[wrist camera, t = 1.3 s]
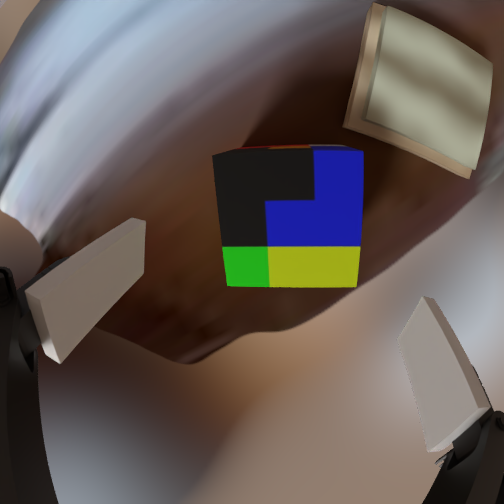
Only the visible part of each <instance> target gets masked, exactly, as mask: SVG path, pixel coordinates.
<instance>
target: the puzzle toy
mask: <svg viewBox="0 0 504 504" xmlns="http://www.w3.org/2000/svg"><path fill="white" fill-rule="evenodd" d="M212 158H213V168H214V177H215V187H216V196H217V205H218V214H219V223H220V231H221V239H222V248H223V256H224V263H225V271H226V279H227V286H249V287H356V285H357V276H358V267H359V257H360V245H361V231H362V214H363V184H364V151H361V150H358V149H354V148H351V147H348V146H344V145H273V146H255V147H241V148H237V149H234V150H230V151H226V152H223V153H219V154H216V155H213V156H212Z"/></svg>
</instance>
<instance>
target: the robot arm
mask: <svg viewBox="0 0 504 504" xmlns="http://www.w3.org/2000/svg"><path fill="white" fill-rule="evenodd" d="M145 228H146V221H143V220H139V219H135V218H131V219H129V220H127V221H126V222H124V223H122V224H121V225H119V226H117V227H116V228H114V229H113V230H111V231H109V232H108V233H106V234H105V235H103V236H101V237H100V238H98V239H97V240H95V241H94V242H92V243H91V244H89V245H88V246H86V247H85V248H83V249H82V250H80V251H79V252H77V253H76V254H74V255H73V256H71V257H66V258H63V259H60V260H58V261H56V262H55V263H53V264H52V265H50V266H49V267H48V269H47V268H46V269H45V270H43V271H42V272H41V274H40V273H39V274H38V275H36V276H35V277H34V278H32V279H31V280H30V281H28V282H27V283H26V284H24V285H23V286H22V287H21V288H19V289H18V290H16V287H15V283H14V279H13V275H12V272H11V270H10V269H9V268H7V267H0V504H58V500H57V497H56V494H55V490H54V486H53V483H52V479H51V474H50V470H49V466H48V461H47V456H46V451H45V445H44V438H43V432H42V424H41V416H40V404H39V388H38V353H37V349H36V348H37V346H38V345H39V344H40V343H41V344H42V346H43V349H44V351H45V354H46V355H48V356H49V357H50V358H52V359H54V360H55V361H57V362H58V363H62V362H63V360H64V359H65V358H66V357H67V356H68V355H69V353H70V352H71V351H72V350H73V349H74V347H75V346H76V345H77V344H78V343H79V342H80V341H81V340H82V338H83V337H84V336H85V335H86V334H87V333H88V332H89V331H90V329H91V328H92V327H93V326H94V325H95V324H96V323H97V322H98V321H99V320H100V319H101V317H102V316H103V315H104V314H105V313H106V312H107V311H108V310H109V309H110V308H111V307H112V306H113V305H114V304H115V302H116V301H117V300H118V299H119V298H120V297H121V296H122V295H123V294H124V293H125V292H126V291H127V290H128V289H129V288H130V287H131V286H132V285H133V284H134V283H135V282H136V281H137V280H138V279H139V278H140V277H141V276H142V275H143V274H144V247H145ZM397 342H398V345H399V348H400V351H401V354H402V357H403V360H404V363H405V366H406V370H407V373H408V376H409V379H410V383H411V386H412V390H413V393H414V397H415V400H416V404H417V408H418V412H419V416H420V420H421V423H422V428H423V433H424V437H425V442H426V447H427V452H435V451H441V450H443V449H444V448H446V447H447V446H448V445H449V444H450V443H453V447H454V448H453V449H451V450H450V451H449V452H447V453H446V454H445V455H444V456H442V457H441V458H439V459H438V460H437V461H436V462H435V464H438V463H439V462H441V461H442V460H444V463H442V464H441V465H440V466H439V467H440V468H441V469H440V471H439V473H438V475H437V477H436V479H435V481H434V483H433V485H432V487H431V489H430V491H429V493H428V494H427V496H426V498H425V499H424V501H423V503H422V504H504V413H503V412H501V411H495V412H494V410H493V408H492V406H491V403H490V401H489V398H488V396H487V394H486V392H485V389H484V387H483V386H482V383H481V381H480V379H478V378H479V377H478V374H477V372H476V370H475V369H474V367H473V366H472V365H471V363H470V361H469V359H468V357H467V355H466V353H465V351H464V349H463V348H462V346H461V344H460V342H459V340H458V338H457V337H456V335H455V333H454V331H453V329H452V328H451V326H450V324H449V323H448V321H447V319H446V318H445V316H444V315H443V313H442V311H441V309H440V308H439V306H438V305H437V303H436V301H435V300H434V299H432V298H428V297H425V296H422V298H421V299H420V301H419V303H418V305H417V307H416V309H415V310H414V312H413V314H412V316H411V317H410V319H409V321H408V322H407V324H406V326H405V327H404V329H403V331H402V332H401V334H400V335H399V337H398V339H397Z"/></svg>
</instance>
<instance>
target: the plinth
mask: <svg viewBox="0 0 504 504" xmlns="http://www.w3.org/2000/svg"><path fill="white" fill-rule="evenodd" d="M492 72H493V64H492V63H491V62H489V61H488V60H487V59H485V58H484V57H483V56H481V55H480V54H478V53H477V52H475V51H474V50H472V49H471V48H469V47H468V46H466V45H465V44H463V43H462V42H460V41H458V40H457V39H455V38H453V37H452V36H450V35H448V34H447V33H445V32H443V31H441V30H439V29H438V28H436V27H434V26H432V25H430V24H428V23H426V22H424V21H422V20H420V19H418V18H416V17H414V16H412V15H409V14H407V13H405V12H403V11H400V10H398V9H396V8H393V7H391V6H387V7H385V6H383V5H380V4H377V3H375V2H373V3H372V5H371V7H370V9H369V10H368V12H367V16H366V22H365V27H364V33H363V38H362V43H361V48H360V53H359V58H358V63H357V67H356V72H355V77H354V81H353V85H352V90H351V94H350V98H349V103H348V107H347V111H346V115H345V119H344V123H343V127H344V128H347V129H350V130H353V131H356V132H359V133H362V134H364V135H367V136H370V137H373V138H375V139H378V140H381V141H383V142H386V143H389V144H391V145H394V146H396V147H398V148H401V149H403V150H406V151H408V152H410V153H413V154H415V155H417V156H419V157H422V158H424V159H426V160H428V161H430V162H432V163H434V164H437V165H439V166H441V167H443V168H445V169H447V170H449V171H451V172H452V173H454V174H457V175H459V176H462V177H464V178H467V179H469V178H470V175H471V171H472V169H474V170H475V169H476V165H477V162H478V158H479V154H480V150H481V145H482V141H483V136H484V131H485V126H486V121H487V115H488V108H489V101H490V93H491V84H492Z"/></svg>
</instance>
